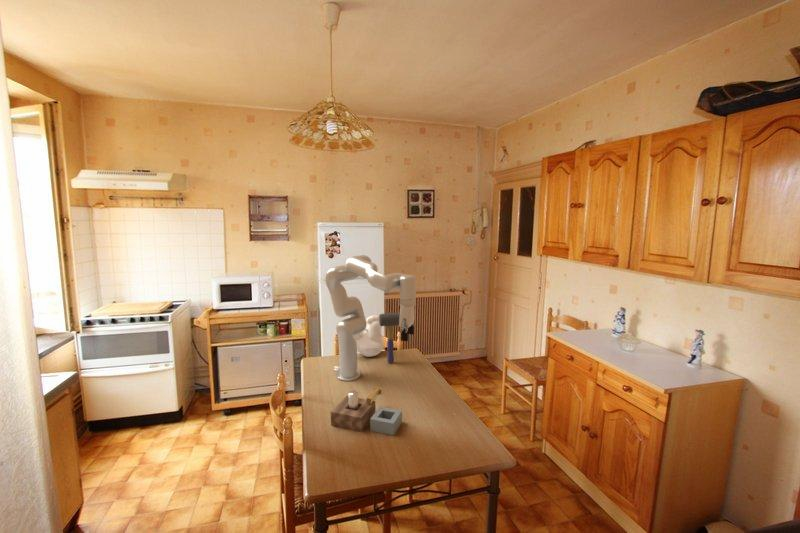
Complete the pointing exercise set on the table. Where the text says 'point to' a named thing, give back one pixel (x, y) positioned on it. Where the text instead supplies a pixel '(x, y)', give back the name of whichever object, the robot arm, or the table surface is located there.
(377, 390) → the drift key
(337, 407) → the socket block
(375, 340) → the decorative rooster
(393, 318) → the rubber mallet
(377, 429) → the grey square ring block
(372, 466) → the table surface
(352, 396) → the steel peg
